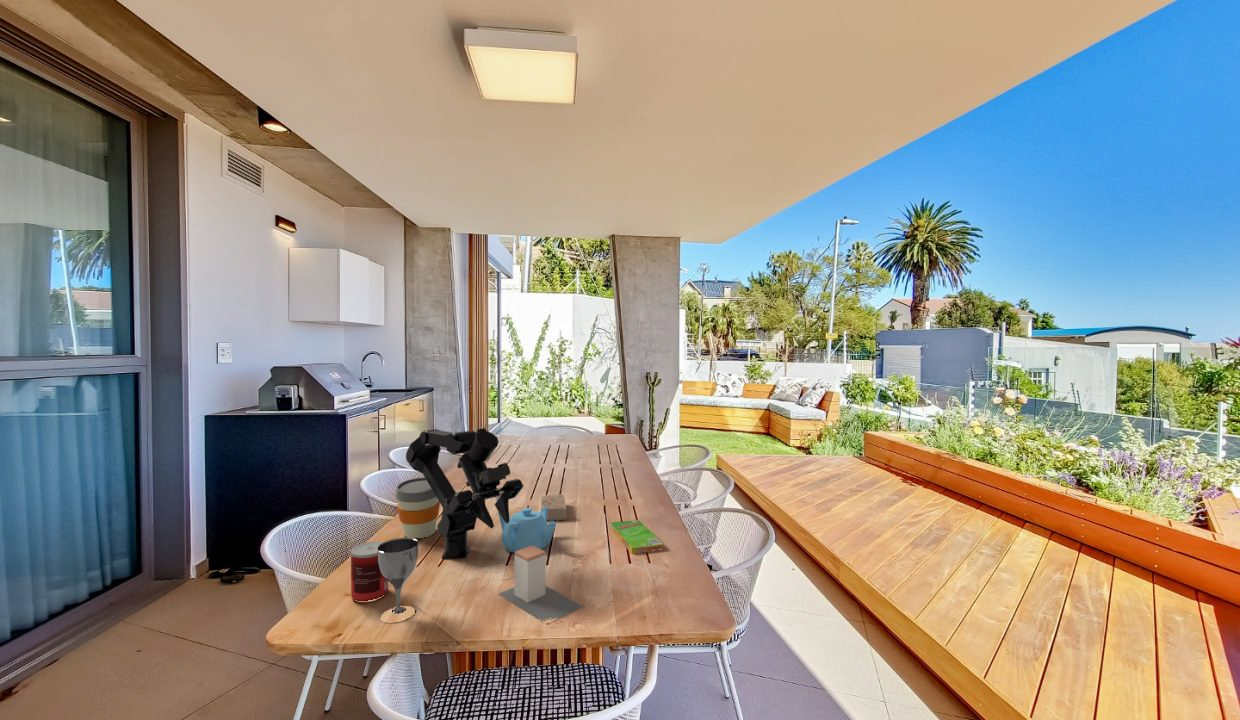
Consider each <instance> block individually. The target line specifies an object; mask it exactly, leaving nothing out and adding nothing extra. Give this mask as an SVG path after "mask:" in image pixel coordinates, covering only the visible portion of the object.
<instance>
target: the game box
mask: <svg viewBox="0 0 1240 720" xmlns="http://www.w3.org/2000/svg"><path fill="white" fill-rule="evenodd" d="M610 525H611V531H612V533H613V534H614V535H615V536H616V537H617V539H618V540H619V541H620V542H621V543H622V544H624V545H623V546H624V547H625V548H626V550H627V551H628V550H629V551H630V552H629V551H628V552H629V553H630V554H631V555H634V554H633V553H638V554H640V553H639V552H645V553H648V552H647V551H652V550H659V549H663V550H664V543H663V542H662V541H661V540H660V539H659V538H658V537H657V536H656V535H655V534H654V533H652V531H651V530H650V529H649V528H648V527H646V525H644V524H643V523H642V522H641V521H640V520H638V519H632V520H631V519H630V520H624V521H613V522H611V523H610ZM652 552H653V551H652Z"/></svg>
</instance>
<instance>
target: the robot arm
mask: <svg viewBox="0 0 1240 720" xmlns="http://www.w3.org/2000/svg"><path fill="white" fill-rule="evenodd" d="M498 445H499V439H498V437H497V436H496V435H495V434H494V433H492V432H491V431H488V430H486V428H485V427H484V428H477V430H476V432H475V430H466V431H459V432H458V431H457V432H451V431H444V430H440V429H437V428H436V429H427V430H423V431H422V432H421V433H420V434H419V436H418V437H416V439H414V440H413V442H411V443H410V444H409V446H408V448H407V451H406V452H405V460H406V462H407V463H408V465H409V466H410V467H411V468H412V470H414V471H416V472H419V473H421V474H423V478H426V480H427V482H428V483H429V485H430V487H431V489H432V490H433V492H434V494H435V495H436V497H437V499H438V500H439V502H440V505H441V508H442V511H441V517H440V518H441V519H440V521H439V522H438V523H437V524H436V529H437V532H438V533H437V534H439V535H440V536H442V537H444V538H445V549H444V552H443V553H442V555H441V559H460V558H461V559H462V558H463V559H465V558H467V557H468V554H469V552H470V550H471V546H468V532H469V531H473V530H475V528H476V524H477V519H479V520H480V521H481V522H482V523H483V524H485V525H486V526H487V527H489V528H490V529H493V528H494V527H495V524H494V522H493V519H492V516H491V514H490V512H489V510H488V508H487V506H486V500H489V499H492V498H495V500H496V502H495V503H494V507H495V508H496V510H497V511H498V512H499V513H500V515H501V516H502V518H503V520H504V521H505V522H506V523H507V524H508V523H509V521H510V520H509V519H510V510H509V509H510V508H509V506H510V505H509V500H513V499H515V498H516V497H517V496H518V495H519V493H520V492H521V491H522V489H523V488H524V487H525V486H524V484H523V482H522V480H521V479H519V478H514V479H510V480H506V479H507V476H509V475H511V468H510V467H509V465H508V463H507V462H503V463H500V464H498V465H497V467H492V468H491V467H488V466H487V463H486V462H487V461H488V460H489V459H490V458H491V456H492V454H493V453H494V451H496V448H497V447H498ZM442 448H446V451H447V452H448V453H450V454H452V455H460V454H462V455H461V457H459V458H458V463H457V469H462V471H463V473H464V475H465V477H466V480H467V481H466V482H465V485H466V487H467V488H468V487H470V489H471V490H470V489H467V490H461V491H458V492H457V491H456V490H455V488H454V487H453V485H452V484H451V482H450V480H449V479H448V477H447V476H446V474H445V472H444V471H443V469H442V467H441V466H440V464H439V463H438V461H439V456H440V452H441V450H442ZM502 480H506V481H505V483H504V484H503V485H502V487H498V486H500V484H501V481H502Z"/></svg>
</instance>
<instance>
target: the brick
mask: <svg viewBox="0 0 1240 720" xmlns="http://www.w3.org/2000/svg"><path fill="white" fill-rule="evenodd" d="M540 506H541V507H540V511H541V510H542V508H544V507H548V515H547V522H551V521H555V522H557V521H565V520H567V518H568V516H567V514H568V513H567V504H566V499H565V496H564V494H559V493H556V494H555V493H554V494H543V495H541V496H540Z"/></svg>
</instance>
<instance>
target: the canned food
mask: <svg viewBox="0 0 1240 720" xmlns="http://www.w3.org/2000/svg"><path fill="white" fill-rule="evenodd" d="M383 542H384V541H377V540H376V541H369V542H368V541H367V542H364V543H360V544H357V545H355V546H354V547H352V549H351V552H350V595H351V599H352V598H353V599H354V600H357V601H368V600H373V599H377V598H379V597H382V596H383V595H385V594H386V593H387V594H388V591H389V581H388V580H386V579H385V578H384V577H383V576H382V574H381V572H380V569H379V565H378V555H377V549H378V546H379V545H380V544H381V543H383ZM387 594H386V595H387ZM386 595H385V596H386ZM353 599H352V600H353Z"/></svg>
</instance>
